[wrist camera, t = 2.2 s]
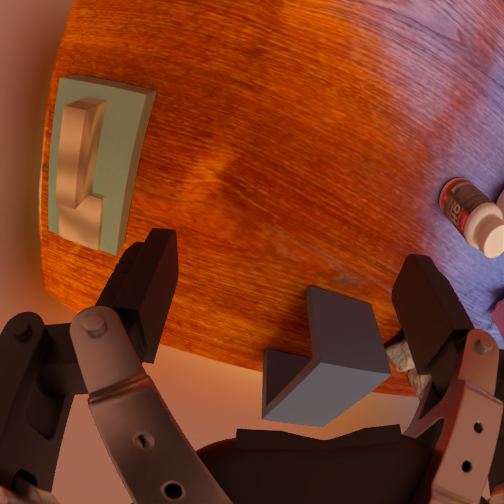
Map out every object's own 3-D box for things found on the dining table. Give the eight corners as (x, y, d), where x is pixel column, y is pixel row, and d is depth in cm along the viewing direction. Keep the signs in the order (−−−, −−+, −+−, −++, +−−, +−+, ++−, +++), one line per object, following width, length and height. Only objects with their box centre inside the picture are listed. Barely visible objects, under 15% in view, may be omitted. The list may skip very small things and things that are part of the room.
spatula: (73, 94, 23) (50, 102, 20) (121, 104, 24) (101, 113, 21) (62, 232, 33) (45, 252, 29) (100, 246, 34) (86, 268, 30)
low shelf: (60, 218, 35) (48, 230, 32) (75, 73, 24) (59, 77, 22) (124, 241, 37) (116, 255, 34) (157, 90, 26) (146, 94, 24)
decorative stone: (400, 312, 42) (409, 338, 38) (454, 310, 42) (465, 333, 38) (376, 360, 49) (381, 383, 45) (426, 355, 49) (433, 377, 45)
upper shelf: (263, 353, 48) (261, 419, 39) (310, 285, 39) (320, 362, 30) (316, 364, 50) (322, 427, 40) (371, 303, 41) (391, 374, 31)
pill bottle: (432, 189, 31) (475, 235, 23) (466, 168, 29) (514, 209, 21) (444, 223, 33) (481, 272, 25) (475, 203, 31) (518, 247, 23)
